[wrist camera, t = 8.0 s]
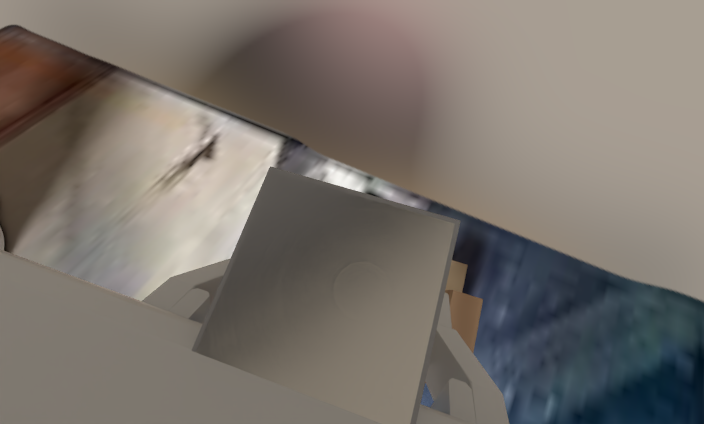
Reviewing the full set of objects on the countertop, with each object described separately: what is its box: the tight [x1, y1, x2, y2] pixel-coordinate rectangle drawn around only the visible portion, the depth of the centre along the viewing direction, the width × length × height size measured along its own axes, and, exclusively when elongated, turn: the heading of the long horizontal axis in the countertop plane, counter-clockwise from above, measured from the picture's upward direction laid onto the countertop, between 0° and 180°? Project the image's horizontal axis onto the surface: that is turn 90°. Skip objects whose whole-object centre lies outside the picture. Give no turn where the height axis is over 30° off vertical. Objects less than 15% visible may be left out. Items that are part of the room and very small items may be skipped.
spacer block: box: [191, 167, 460, 424], centre depth 12 cm, size 5×5×12 cm
